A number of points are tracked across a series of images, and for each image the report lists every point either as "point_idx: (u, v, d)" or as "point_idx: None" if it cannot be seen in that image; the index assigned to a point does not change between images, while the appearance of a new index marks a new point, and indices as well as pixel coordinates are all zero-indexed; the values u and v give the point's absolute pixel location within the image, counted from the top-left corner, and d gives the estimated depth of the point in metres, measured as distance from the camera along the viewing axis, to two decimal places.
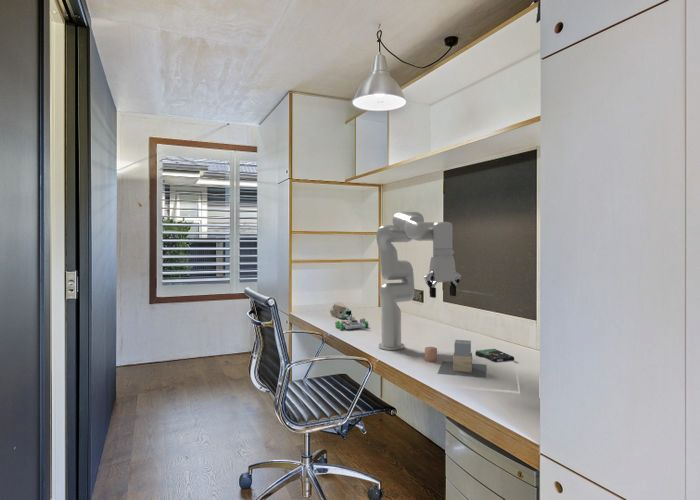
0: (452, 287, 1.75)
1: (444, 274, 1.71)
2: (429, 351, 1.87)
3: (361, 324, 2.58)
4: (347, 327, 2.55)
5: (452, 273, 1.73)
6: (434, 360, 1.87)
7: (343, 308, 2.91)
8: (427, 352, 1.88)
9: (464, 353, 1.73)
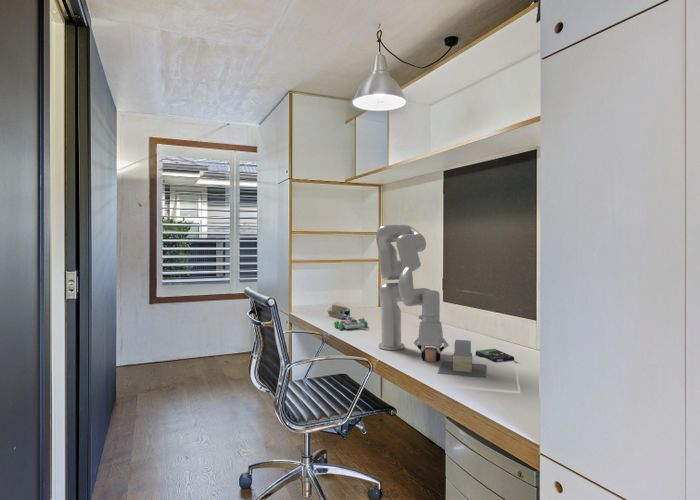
0: None
1: None
2: (429, 351, 1.87)
3: (360, 324, 2.59)
4: (347, 327, 2.56)
5: None
6: (434, 360, 1.87)
7: (344, 308, 2.91)
8: (427, 352, 1.88)
9: (464, 353, 1.73)
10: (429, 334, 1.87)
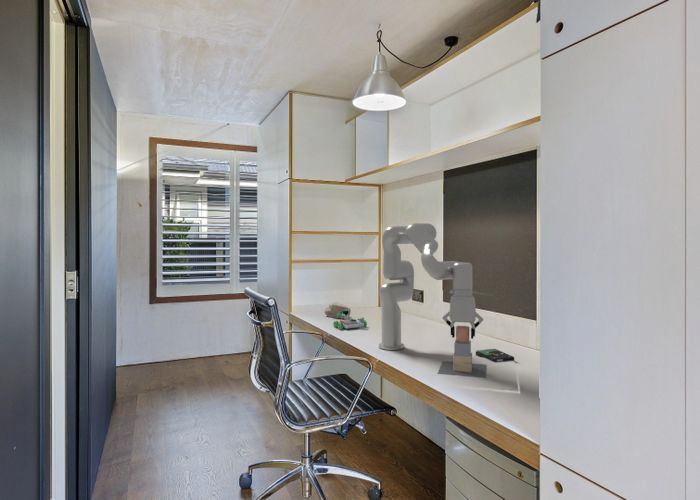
0: (454, 328, 1.78)
1: None
2: (461, 330, 1.74)
3: (360, 323, 2.60)
4: (347, 327, 2.56)
5: None
6: (466, 339, 1.74)
7: (344, 308, 2.92)
8: (459, 331, 1.74)
9: (464, 353, 1.73)
10: (461, 309, 1.74)
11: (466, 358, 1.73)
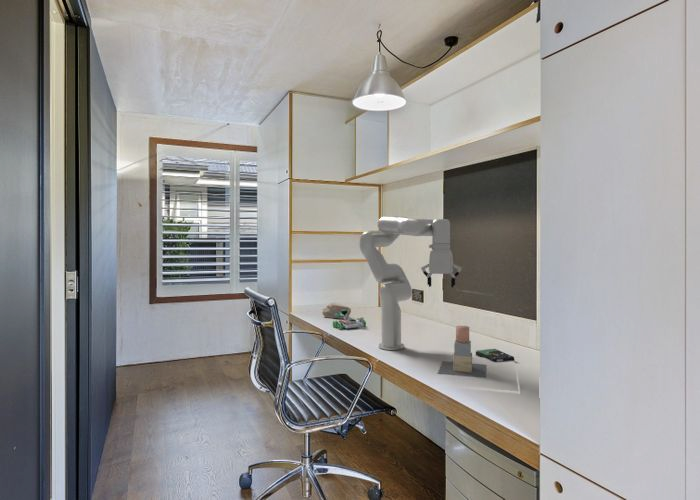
0: None
1: None
2: (461, 330, 1.74)
3: (360, 323, 2.61)
4: (347, 326, 2.57)
5: None
6: (466, 339, 1.74)
7: (345, 308, 2.92)
8: (459, 331, 1.74)
9: (464, 353, 1.73)
10: (440, 262, 1.88)
11: (466, 358, 1.73)
